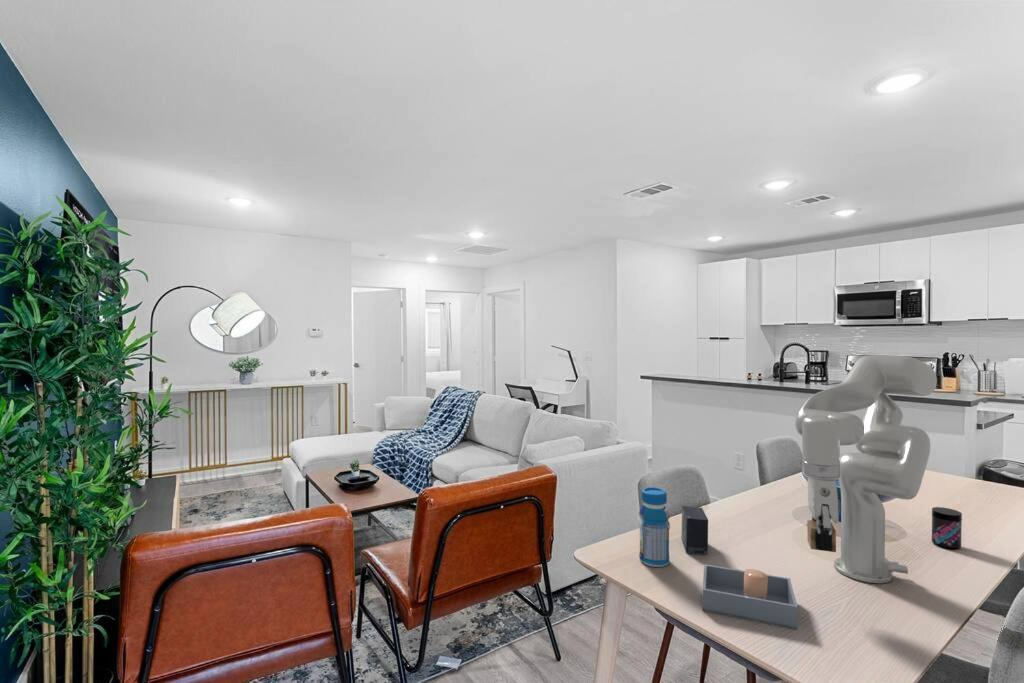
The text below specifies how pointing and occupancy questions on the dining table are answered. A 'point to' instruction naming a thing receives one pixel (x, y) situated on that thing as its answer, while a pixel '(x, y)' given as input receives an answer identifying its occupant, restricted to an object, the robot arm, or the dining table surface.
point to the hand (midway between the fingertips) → (821, 543)
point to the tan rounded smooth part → (755, 584)
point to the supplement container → (946, 528)
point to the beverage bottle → (654, 528)
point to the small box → (694, 530)
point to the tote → (749, 598)
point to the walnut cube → (812, 538)
